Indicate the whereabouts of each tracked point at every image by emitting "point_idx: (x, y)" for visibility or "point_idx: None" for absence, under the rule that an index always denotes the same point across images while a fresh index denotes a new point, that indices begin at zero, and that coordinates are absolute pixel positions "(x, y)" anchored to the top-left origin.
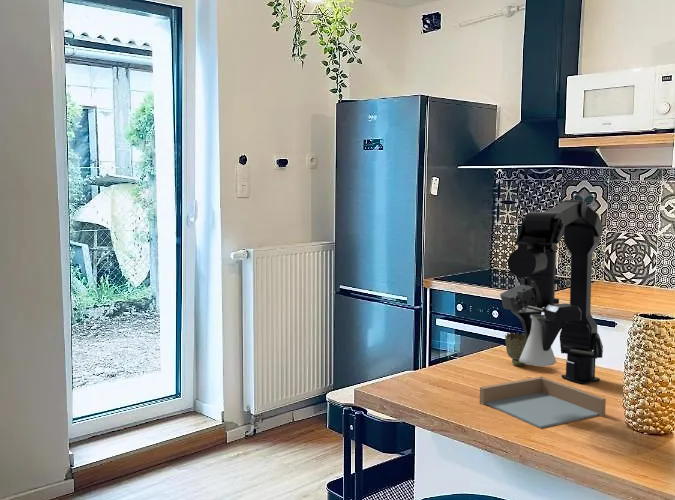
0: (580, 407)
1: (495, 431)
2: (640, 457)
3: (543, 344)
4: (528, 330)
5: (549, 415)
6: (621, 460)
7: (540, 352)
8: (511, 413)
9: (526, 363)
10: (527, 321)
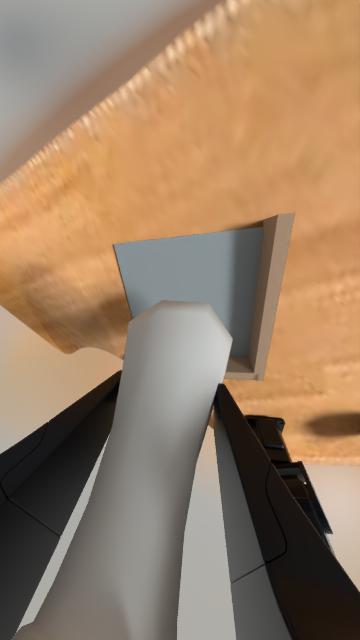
0: None
1: (116, 132)
2: (17, 295)
3: (109, 386)
4: (230, 459)
5: (153, 294)
6: (5, 268)
7: (125, 353)
8: (183, 237)
9: (165, 301)
10: (256, 571)
